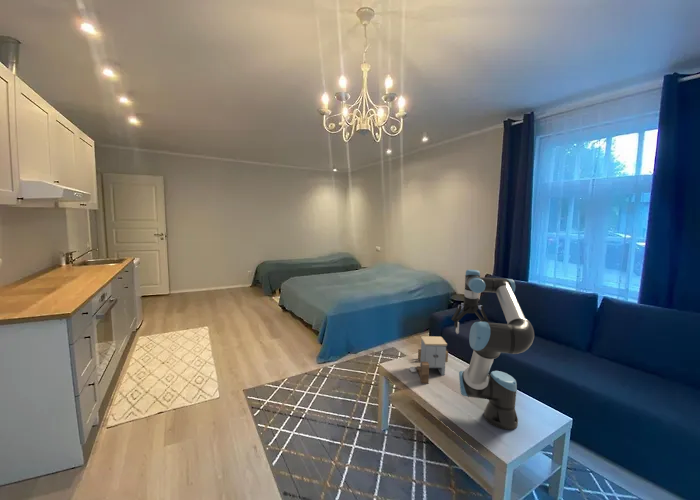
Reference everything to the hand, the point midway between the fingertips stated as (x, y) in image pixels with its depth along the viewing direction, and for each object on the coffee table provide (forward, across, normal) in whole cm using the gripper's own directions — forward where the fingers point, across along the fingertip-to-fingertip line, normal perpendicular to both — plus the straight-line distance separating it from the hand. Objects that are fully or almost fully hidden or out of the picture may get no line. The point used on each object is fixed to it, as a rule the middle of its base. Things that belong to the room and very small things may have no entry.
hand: (468, 333), depth 170 cm
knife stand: (+35, +9, -36) cm, 51 cm away
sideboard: (+35, +14, -22) cm, 43 cm away
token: (+35, +26, -21) cm, 48 cm away
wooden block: (+35, +22, -14) cm, 43 cm away
